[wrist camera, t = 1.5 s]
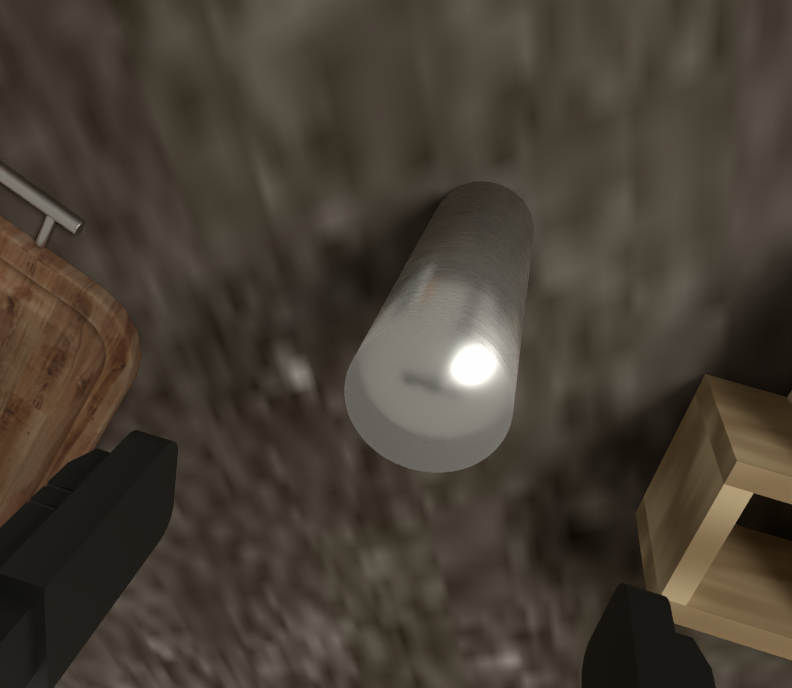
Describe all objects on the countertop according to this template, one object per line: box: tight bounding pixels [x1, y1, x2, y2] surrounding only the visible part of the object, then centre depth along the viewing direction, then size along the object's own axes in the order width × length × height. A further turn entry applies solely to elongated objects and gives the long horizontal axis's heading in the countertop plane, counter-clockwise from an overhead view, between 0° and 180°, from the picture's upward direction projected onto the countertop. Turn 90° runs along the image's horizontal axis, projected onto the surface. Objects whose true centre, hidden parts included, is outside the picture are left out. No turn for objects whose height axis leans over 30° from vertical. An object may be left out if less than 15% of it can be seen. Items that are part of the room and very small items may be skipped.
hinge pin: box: [344, 182, 534, 473], centre depth 22 cm, size 4×4×13 cm
